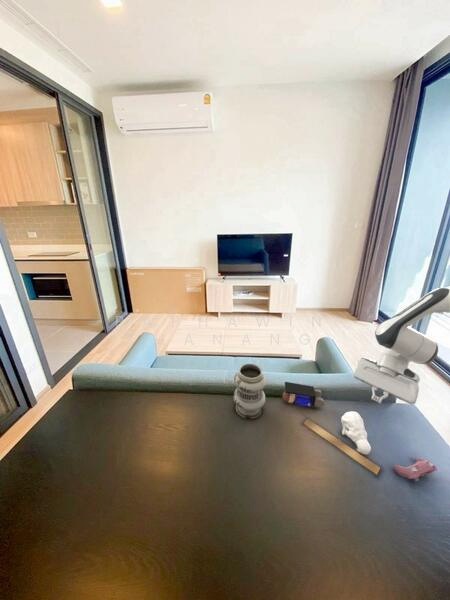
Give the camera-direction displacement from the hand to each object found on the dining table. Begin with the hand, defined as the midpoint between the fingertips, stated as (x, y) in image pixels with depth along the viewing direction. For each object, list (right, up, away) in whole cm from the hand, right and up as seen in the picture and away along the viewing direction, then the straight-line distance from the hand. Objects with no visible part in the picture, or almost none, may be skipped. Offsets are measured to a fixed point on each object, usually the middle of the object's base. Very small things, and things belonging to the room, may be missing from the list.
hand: (375, 401), depth 88 cm
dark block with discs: (-24, -5, +10) cm, 26 cm away
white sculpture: (-11, -11, -6) cm, 17 cm away
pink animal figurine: (+1, -15, -16) cm, 22 cm away
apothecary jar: (-45, -6, +7) cm, 46 cm away
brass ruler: (-17, -11, -7) cm, 21 cm away
